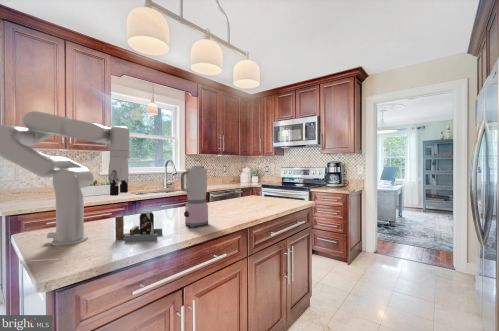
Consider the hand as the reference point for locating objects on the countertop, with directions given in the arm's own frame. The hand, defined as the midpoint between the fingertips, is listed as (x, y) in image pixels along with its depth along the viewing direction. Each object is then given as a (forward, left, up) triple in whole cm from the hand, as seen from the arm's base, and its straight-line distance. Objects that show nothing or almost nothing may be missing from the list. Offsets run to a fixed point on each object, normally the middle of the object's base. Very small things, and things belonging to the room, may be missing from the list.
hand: (119, 193), depth 104 cm
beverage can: (+11, 0, -20) cm, 23 cm away
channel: (+10, 0, -20) cm, 23 cm away
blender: (+30, +20, -20) cm, 41 cm away
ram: (+3, 0, -20) cm, 20 cm away
